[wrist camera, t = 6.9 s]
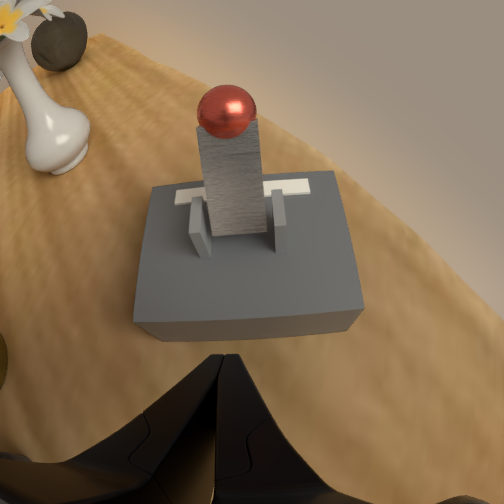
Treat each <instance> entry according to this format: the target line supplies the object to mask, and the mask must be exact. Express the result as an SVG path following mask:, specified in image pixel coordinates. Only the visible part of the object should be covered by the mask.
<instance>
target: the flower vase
mask: <svg viewBox="0 0 504 504" xmlns="http://www.w3.org/2000/svg"><path fill="white" fill-rule="evenodd" d="M51 1H52V0H0V80H1V79H2V76H3V75H2V73H3V74H4V76H5V77H6V79H7V81H8V83H9V85H10V87H11V89H12V91H13V93H14V94H15V96H16V98H17V100H18V102H19V104H20V106H21V108H22V110H23V113H24V116H25V119H26V124H27V131H28V134H27V140H26V146H25V154H26V159H27V161H28V163H29V165H30V166H31V168H32V169H34V170H37V171H39V172H50V173H51V174H54V175H61V174H64V173H66V172H68V171H70V170H71V169H73V168H74V167H75V166H77V165H78V164H79V163H80V162H81V160H82V159H83V158H84V157H85V155H86V153H87V150H88V143H87V141H88V138H89V135H90V127H91V125H90V121H89V119H88V117H87V116H86V115H85V114H84V113H83V112H81V111H80V110H78V109H75V108H71V107H64V106H61V105H59V104H58V103H56V102H55V101H54V100H52V99H51V98H50V97H49V96H48V94H47V93H46V92H45V90H44V89H43V88H42V86H41V84H40V83H39V81H38V79H37V78H36V76H35V74H34V72H33V71H32V69H31V67H30V65H29V63H28V61H27V59H26V56H25V53H24V50H23V46H22V42H21V41H25V40H26V39H27V38H28V37H29V34H30V31H29V28H28V26H27V25H26V24H25V23H24V22H19V21H20V20H21V19H23V18H24V17H26V16H28V15H35V16H41V17H43V18H45V19H47V20H49V21H52V17H51V16H54V17H59V18H65V15H64V14H63V12H62V11H61V10H60V9H58V8H57V7H55V6H52V5H48V6H45V5H47V4H48V3H49V2H51Z"/></svg>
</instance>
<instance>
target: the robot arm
mask: <svg viewBox="0 0 504 504" xmlns="http://www.w3.org/2000/svg"><path fill="white" fill-rule="evenodd" d="M213 487H214V496H213V500H212V503H211V504H373V503H369V502H366V501H363V500H360V499H357V498H354V497H351V496H349V495H346V494H343V493H340V492H338V491H336V490H334V489H333V488H331V487H330V486H329V485H328V484H326V483H325V482H324V481H323V480H322V479H321V478H320V477H319V476H318V475H317V474H316V472H315V471H314V470H313V469H312V468H311V467H310V466H309V465H308V464H307V463H306V461H305V460H304V459H303V458H302V457H301V456H300V455H299V454H298V452H297V451H296V450H295V449H294V448H293V447H292V445H291V444H290V443H289V441H288V440H287V439H286V438H285V436H284V435H283V433H282V432H281V430H280V428H279V427H278V425H277V424H276V422H275V420H274V418H273V417H272V415H271V413H270V411H269V410H268V408H267V406H266V404H265V402H264V401H263V399H262V397H261V395H260V393H259V391H258V389H257V388H256V386H255V384H254V382H253V380H252V378H251V376H250V375H249V373H248V371H247V369H246V367H245V365H244V363H243V361H242V359H241V357H240V355H239V354H226V355H225V356H224V355H223V354H212V355H210V356H209V357H208V358H206V359H205V360H204V361H203V362H202V363H201V364H199V365H198V366H197V367H196V368H195V369H194V370H192V371H191V372H190V373H189V374H188V375H187V376H185V377H184V378H183V379H182V380H181V381H180V382H178V383H177V384H176V385H175V386H174V387H172V388H171V389H170V390H169V391H168V392H166V393H165V394H164V395H163V396H162V397H160V398H159V399H158V400H157V401H155V402H154V403H153V404H152V405H151V406H149V407H148V408H147V409H146V410H144V411H143V413H141V414H139V415H138V416H137V417H136V418H134V419H133V420H132V421H130V422H129V423H128V424H126V425H125V426H124V427H122V428H121V429H120V430H118V431H117V432H115V433H113V434H112V435H110V436H109V437H107V438H106V439H104V440H102V441H101V442H99V443H97V444H96V445H94V446H92V447H91V448H89V449H87V450H86V451H84V452H82V453H80V454H79V455H77V456H75V457H73V458H71V459H69V460H67V461H64V462H59V463H36V462H25V461H16V460H8V459H1V458H0V504H210V502H211V497H212V492H213ZM437 504H489V503H488V502H485V501H483V500H480V499H477V498H474V497H471V496H467V495H465V496H457V497H453V498H450V499H447V500H444V501H442V502H439V503H437Z"/></svg>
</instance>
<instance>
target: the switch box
mask: <svg viewBox="0 0 504 504" xmlns="http://www.w3.org/2000/svg"><path fill="white" fill-rule="evenodd" d="M263 187H264V199H265V211H266V224H267V232H260V233H247V234H235V235H222V236H212V230H211V224H210V218H209V211H208V205H207V199H206V193H205V186H204V181H195V182H187V183H179V184H171V185H164V186H157V187H153V188H152V193H151V198H150V203H149V208H148V214H147V219H146V225H145V231H144V237H143V243H142V249H141V256H140V263H139V270H138V278H137V286H136V294H135V303H134V313H133V322H134V323H135V324H137V325H138V326H140V327H141V328H143V329H144V330H146V331H147V332H149V333H150V334H152V335H153V336H155V337H156V338H158V339H159V340H161V341H225V340H248V339H265V338H280V337H292V336H304V335H315V334H325V333H334V332H343V331H347V330H348V329H349V327H350V326H351V325H352V324H353V322H354V321H355V320H356V319H357V317H358V316H359V315H360V314H361V312H362V311H363V310H364V302H363V296H362V291H361V285H360V280H359V275H358V270H357V265H356V260H355V255H354V251H353V246H352V242H351V237H350V233H349V228H348V224H347V220H346V216H345V212H344V208H343V204H342V200H341V196H340V192H339V189H338V185H337V181H336V178H335V174H334V171H314V172H296V173H280V174H266V175H263Z"/></svg>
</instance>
